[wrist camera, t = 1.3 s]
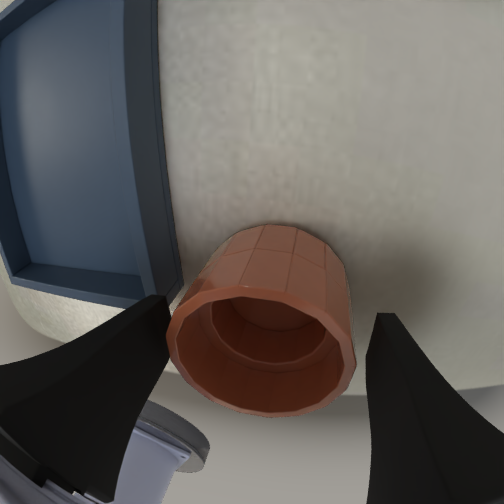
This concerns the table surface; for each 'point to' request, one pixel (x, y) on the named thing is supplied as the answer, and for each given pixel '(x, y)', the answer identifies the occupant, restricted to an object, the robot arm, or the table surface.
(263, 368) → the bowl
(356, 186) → the table surface
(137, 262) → the tray
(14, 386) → the robot arm
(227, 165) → the table surface
